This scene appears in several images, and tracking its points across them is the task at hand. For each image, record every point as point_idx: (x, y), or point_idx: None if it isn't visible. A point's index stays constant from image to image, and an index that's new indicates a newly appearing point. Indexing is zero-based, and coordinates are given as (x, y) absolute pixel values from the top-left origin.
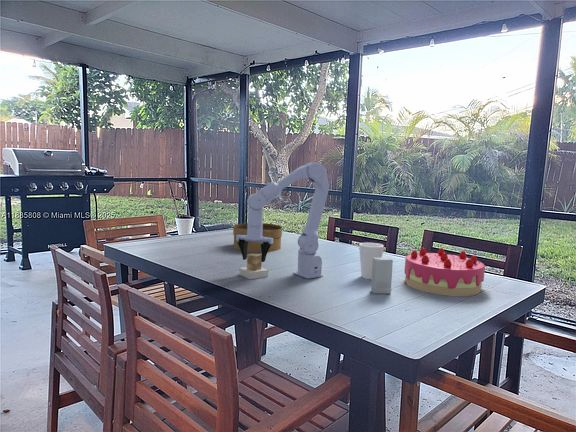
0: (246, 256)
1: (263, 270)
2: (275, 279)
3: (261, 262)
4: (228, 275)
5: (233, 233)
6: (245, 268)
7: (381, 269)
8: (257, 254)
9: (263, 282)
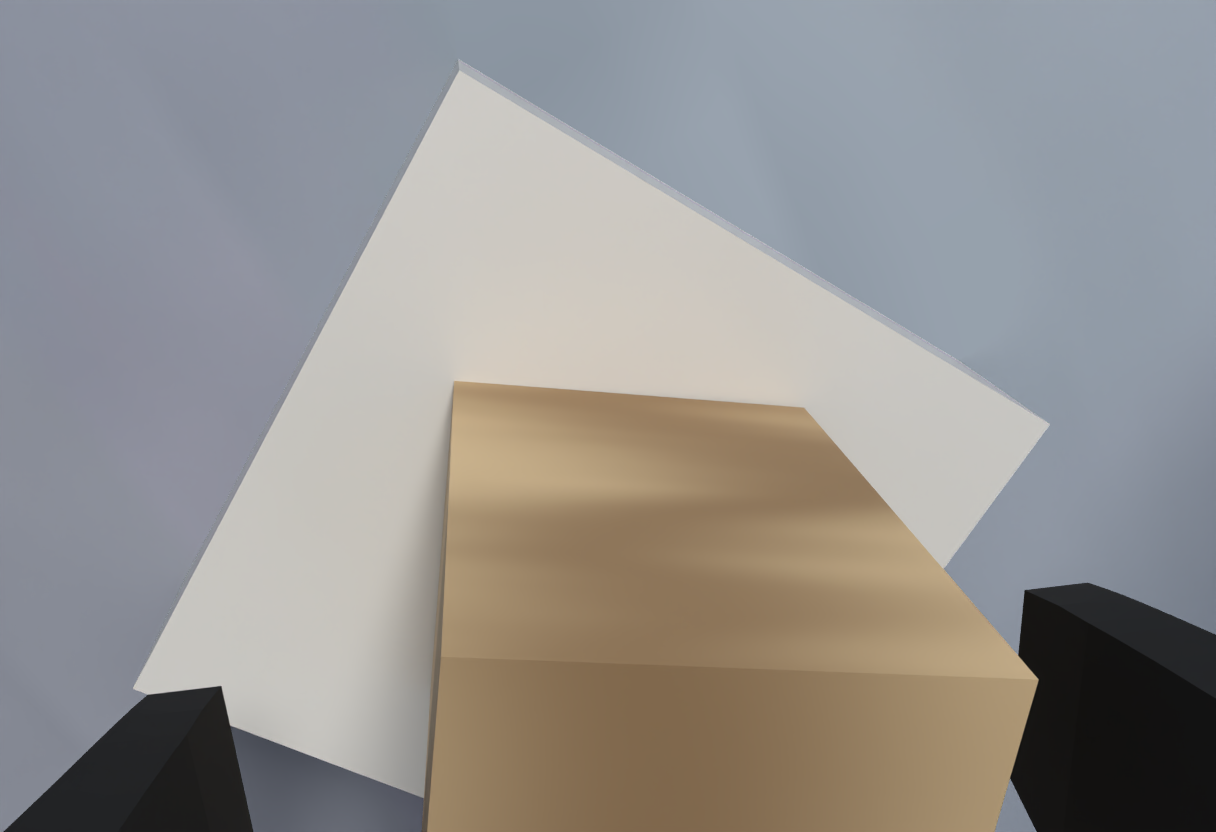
0: (203, 800)
1: (935, 547)
2: (1194, 492)
3: (877, 494)
4: (14, 793)
5: None
6: (341, 645)
7: None
8: (813, 767)
9: (1008, 810)
